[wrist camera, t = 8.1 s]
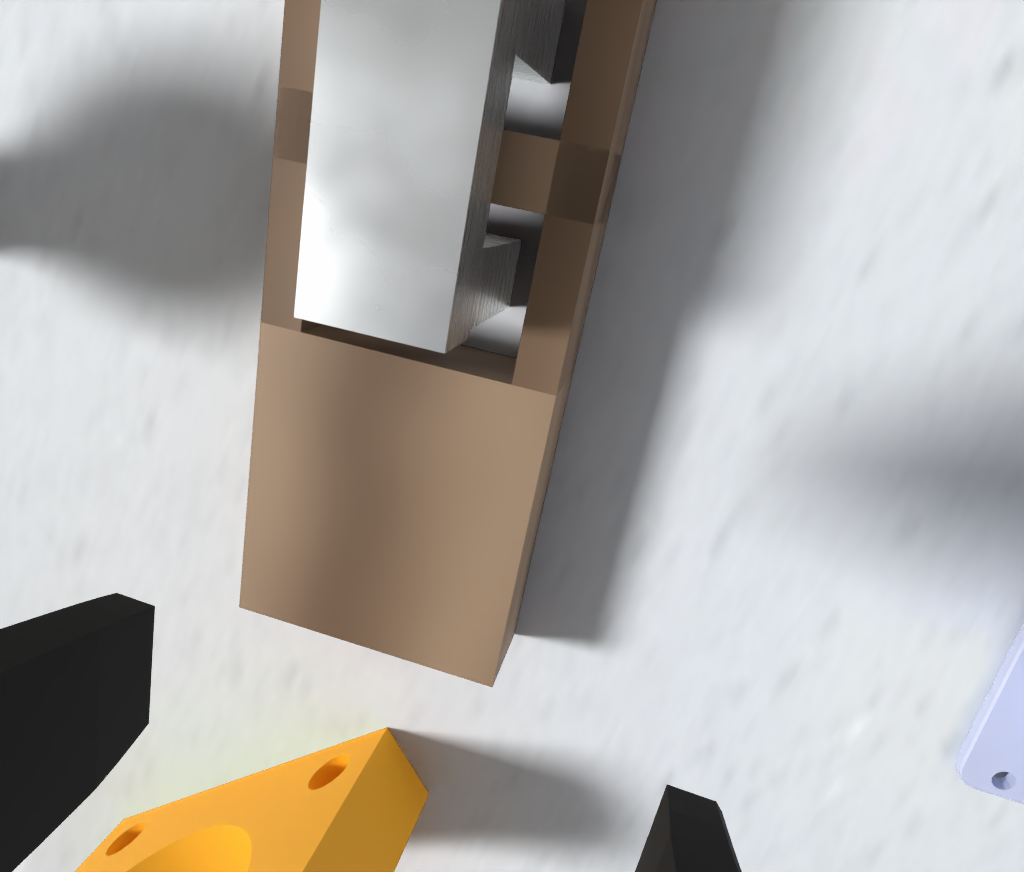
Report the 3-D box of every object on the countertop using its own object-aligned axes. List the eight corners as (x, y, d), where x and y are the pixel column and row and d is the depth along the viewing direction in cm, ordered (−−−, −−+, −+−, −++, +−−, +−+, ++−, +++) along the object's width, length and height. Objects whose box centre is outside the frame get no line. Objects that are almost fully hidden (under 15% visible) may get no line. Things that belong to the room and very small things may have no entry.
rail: (778, -538, 13) (795, -696, 10) (513, 635, 21) (492, 687, 18) (395, -555, 14) (338, -702, 12) (285, 565, 22) (239, 606, 20)
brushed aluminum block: (567, -9, 16) (515, -97, 11) (507, 315, 18) (444, 353, 13) (434, -29, 16) (331, -122, 12) (392, 288, 19) (293, 317, 14)
